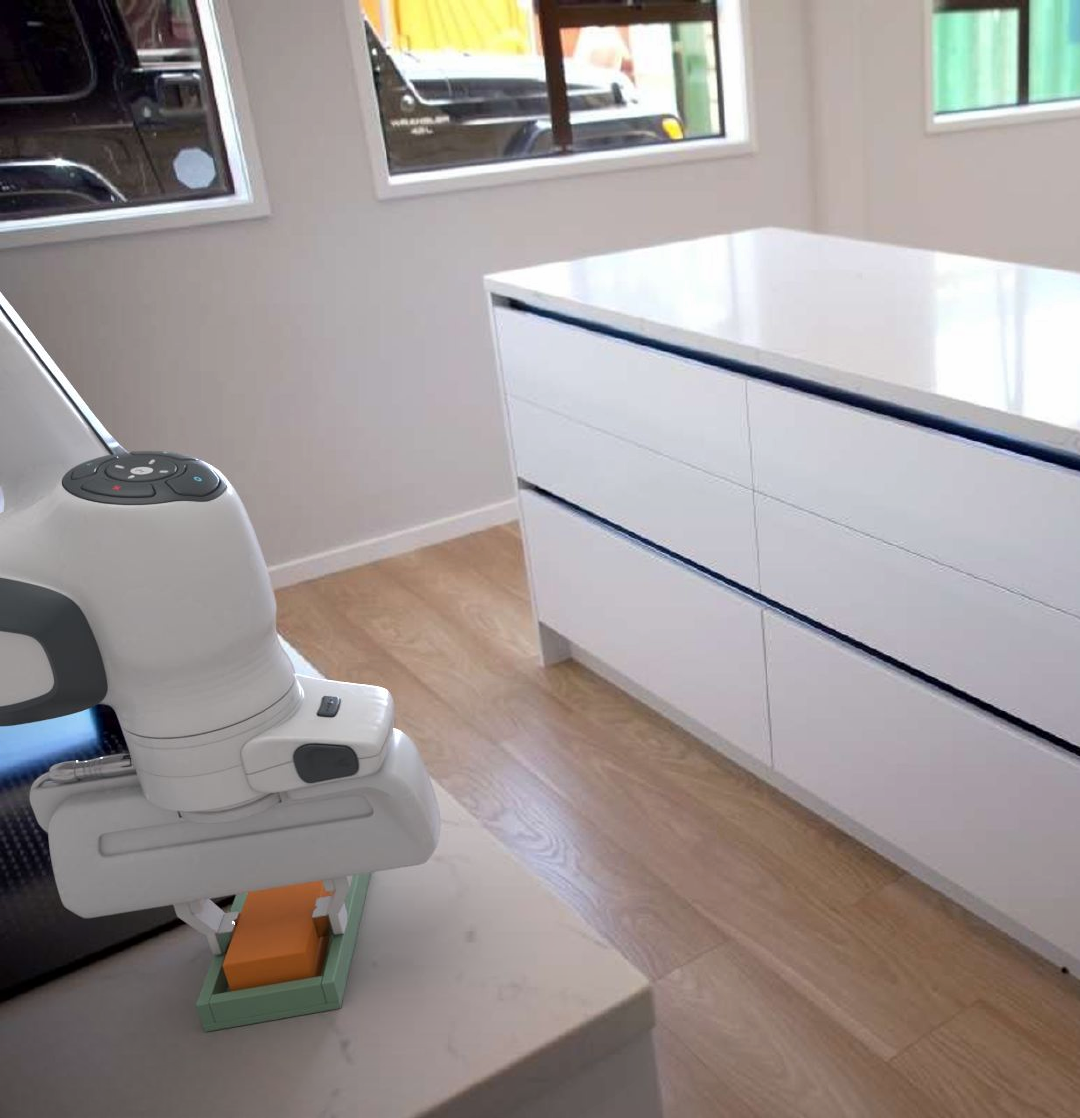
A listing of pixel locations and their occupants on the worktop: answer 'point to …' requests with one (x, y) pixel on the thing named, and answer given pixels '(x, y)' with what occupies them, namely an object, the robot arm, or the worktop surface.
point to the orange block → (276, 938)
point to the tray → (289, 997)
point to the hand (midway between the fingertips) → (283, 937)
